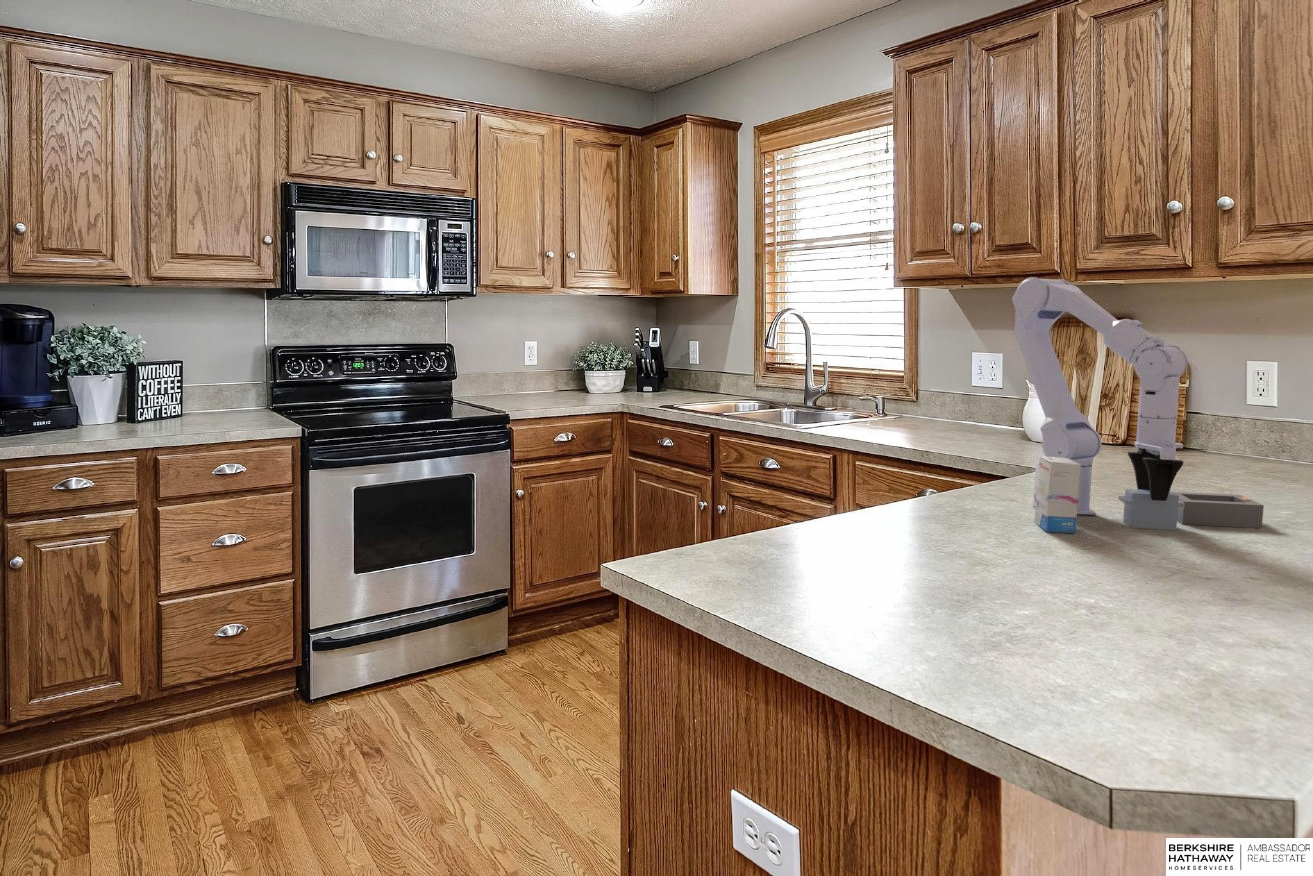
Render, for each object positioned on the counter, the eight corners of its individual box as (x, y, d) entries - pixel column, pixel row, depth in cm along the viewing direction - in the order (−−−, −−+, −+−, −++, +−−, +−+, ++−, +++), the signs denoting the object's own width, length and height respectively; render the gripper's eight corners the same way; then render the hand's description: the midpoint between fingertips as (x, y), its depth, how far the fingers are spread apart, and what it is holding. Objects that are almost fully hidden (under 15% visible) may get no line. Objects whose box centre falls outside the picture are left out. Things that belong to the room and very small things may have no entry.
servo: (1123, 527, 145) (1126, 489, 144) (1116, 522, 149) (1119, 485, 148) (1182, 530, 143) (1185, 492, 142) (1174, 525, 147) (1176, 487, 146)
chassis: (1182, 524, 147) (1184, 500, 147) (1164, 512, 157) (1165, 490, 156) (1261, 528, 144) (1263, 504, 144) (1238, 516, 154) (1240, 493, 153)
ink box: (1077, 534, 140) (1082, 463, 138) (1045, 532, 141) (1049, 462, 139) (1063, 523, 148) (1068, 456, 147) (1033, 521, 149) (1037, 455, 148)
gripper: (1199, 421, 136) (1192, 505, 137) (1169, 414, 150) (1164, 490, 151) (1149, 420, 138) (1144, 503, 139) (1125, 413, 151) (1120, 488, 153)
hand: (1151, 496), depth 145 cm, fingers open, 7 cm apart
